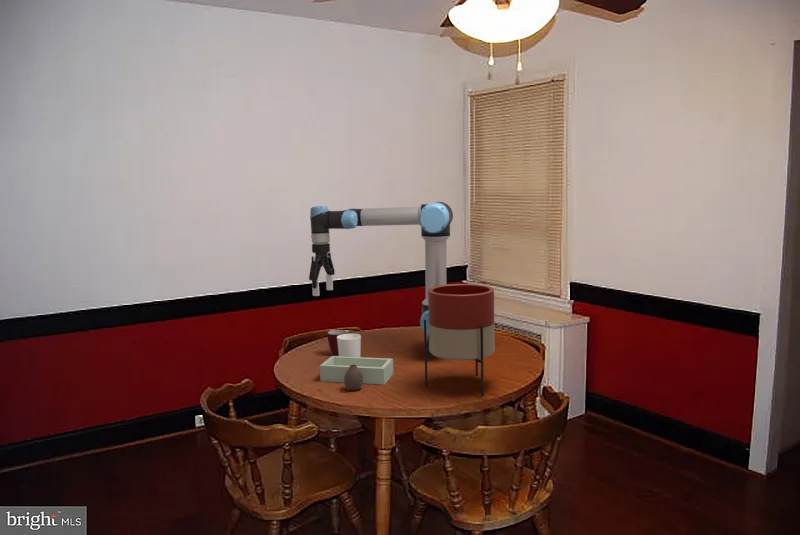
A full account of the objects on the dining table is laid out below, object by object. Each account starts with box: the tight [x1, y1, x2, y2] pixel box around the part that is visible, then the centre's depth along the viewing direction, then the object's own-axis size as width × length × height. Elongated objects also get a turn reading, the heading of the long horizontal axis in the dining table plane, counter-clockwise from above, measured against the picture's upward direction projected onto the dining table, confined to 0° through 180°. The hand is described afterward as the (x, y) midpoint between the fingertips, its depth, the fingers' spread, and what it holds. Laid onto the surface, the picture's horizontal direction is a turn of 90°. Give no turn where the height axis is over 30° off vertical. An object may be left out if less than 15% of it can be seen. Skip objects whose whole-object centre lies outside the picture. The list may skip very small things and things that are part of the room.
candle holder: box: [337, 333, 362, 357], centre depth 257 cm, size 10×10×12 cm
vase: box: [343, 365, 364, 392], centre depth 228 cm, size 7×7×9 cm
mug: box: [327, 329, 347, 356], centre depth 273 cm, size 11×8×10 cm
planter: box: [423, 283, 496, 397], centre depth 226 cm, size 24×25×35 cm
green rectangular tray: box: [319, 355, 394, 385], centre depth 241 cm, size 25×13×6 cm, turn 76°
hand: (323, 292), depth 269 cm, fingers open, 13 cm apart
